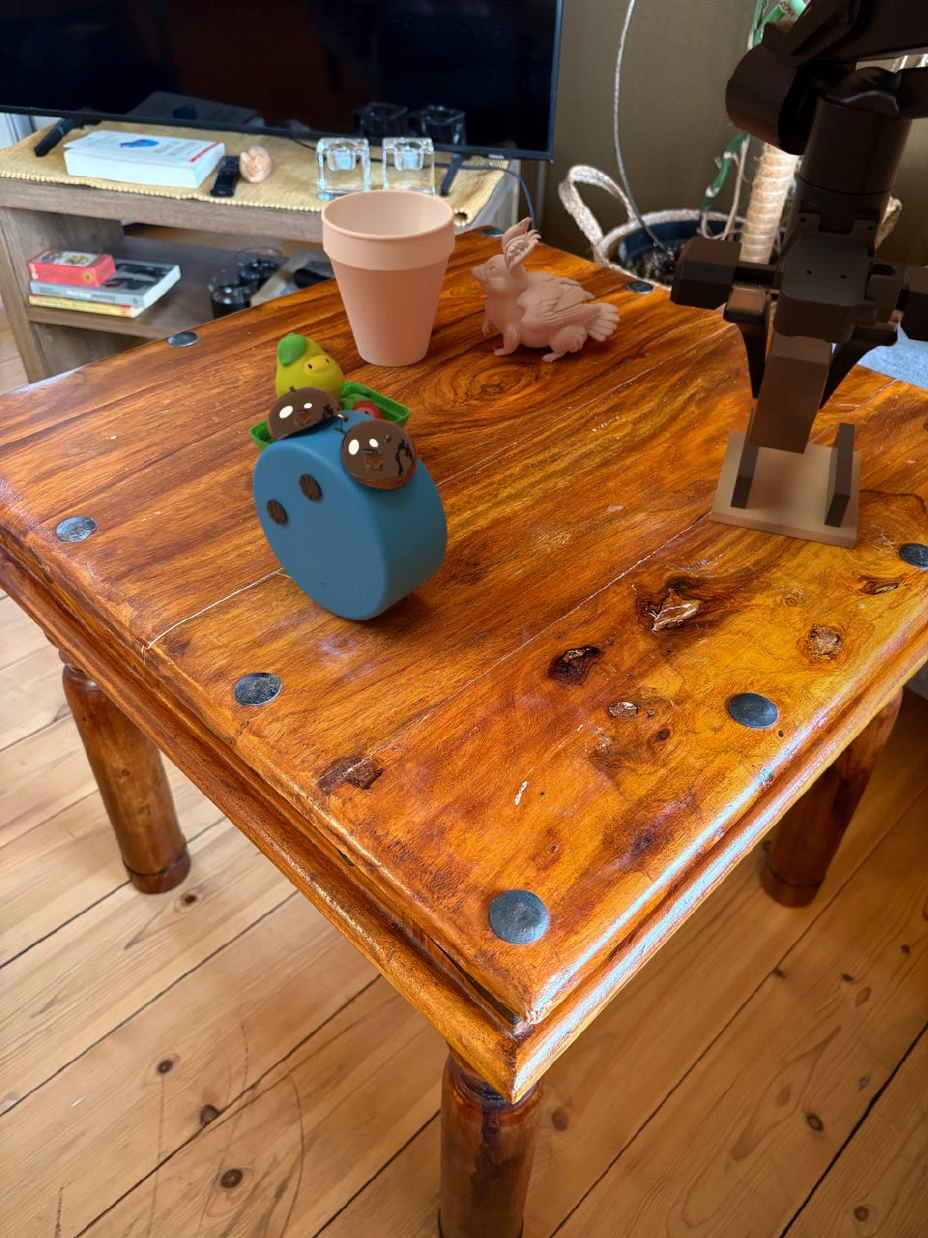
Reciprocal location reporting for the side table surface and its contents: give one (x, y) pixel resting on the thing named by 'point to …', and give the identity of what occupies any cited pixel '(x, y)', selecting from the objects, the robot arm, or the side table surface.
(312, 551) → the alarm clock
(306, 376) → the fruit basket
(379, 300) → the cup
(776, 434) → the dark brown block
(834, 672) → the side table surface
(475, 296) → the side table surface
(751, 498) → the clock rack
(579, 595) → the side table surface
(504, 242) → the figurine
